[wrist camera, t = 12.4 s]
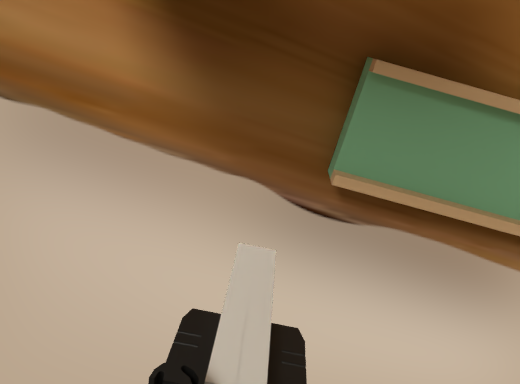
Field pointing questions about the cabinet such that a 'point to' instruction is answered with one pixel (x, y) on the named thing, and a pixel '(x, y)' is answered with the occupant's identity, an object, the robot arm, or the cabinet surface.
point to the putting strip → (432, 146)
